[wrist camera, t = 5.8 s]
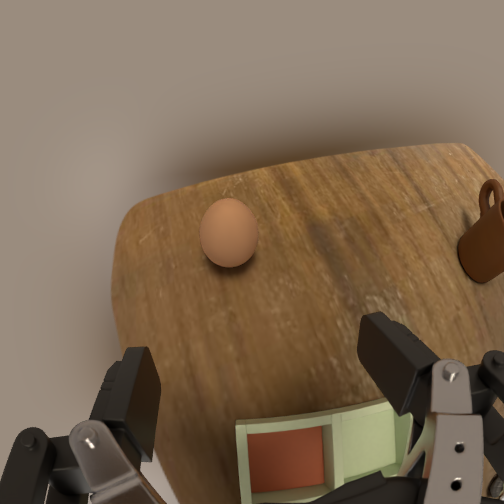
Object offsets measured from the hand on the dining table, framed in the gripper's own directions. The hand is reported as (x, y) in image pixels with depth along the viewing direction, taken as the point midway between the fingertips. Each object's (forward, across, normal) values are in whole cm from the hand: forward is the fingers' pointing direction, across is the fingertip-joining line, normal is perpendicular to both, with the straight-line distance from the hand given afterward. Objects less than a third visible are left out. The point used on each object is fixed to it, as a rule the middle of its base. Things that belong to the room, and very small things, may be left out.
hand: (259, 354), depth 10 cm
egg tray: (+2, -5, +19) cm, 20 cm away
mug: (+17, -33, +5) cm, 37 cm away
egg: (+19, 0, +2) cm, 19 cm away
